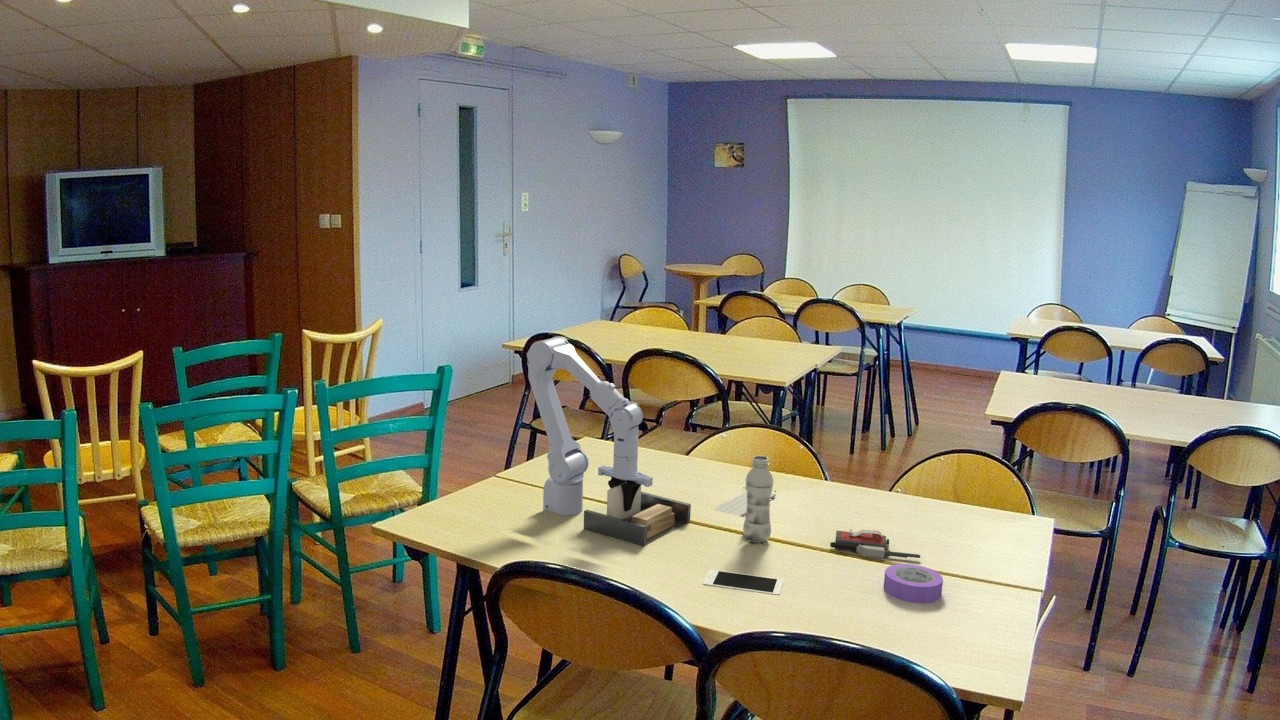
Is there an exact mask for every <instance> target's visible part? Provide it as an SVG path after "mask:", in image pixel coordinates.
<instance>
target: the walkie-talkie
mask: <svg viewBox="0 0 1280 720" xmlns="http://www.w3.org/2000/svg"><path fill="white" fill-rule="evenodd" d="M829 545H830V547H831V548H834V549H835V550H837V551H844V552H852V553H857V554H859V555H861V556H864V557H867V558H868V557H870V558H879V559H885V558H884V557H898V558H904V559H905V558H906V559H907V558H914V559H915V558H917V559H921V555H920V554H918V553H917V554H916V553H909V552H908V553H907V552H900V551H899V552H897V551H892V550H887V549H889V548H890V539H889V538H887V536H886V535H883V534H882V532H881V531H879V530H871V529H861V530H859V531H857V532H854V531H853V529H849V530H848V531H847V530H845V531H844V530H836V533H835V541H833V542H832V541H831V542H830V543H829Z"/></svg>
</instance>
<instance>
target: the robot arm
mask: <svg viewBox="0 0 1280 720" xmlns="http://www.w3.org/2000/svg"><path fill="white" fill-rule="evenodd" d="M526 357H527V360H528V373H527V374H528V376H527V377H528V381H529V384H530V387H531V389H532V393H533V396H534V399H535V402H536V405H537V408H538V411H539V414H540V418H541V422H542V424H543V426H544V429H545V434H546V435H547V436H546V437H547V439H548V442H549V444H550V445H549V446H550V447H549V450H548V453H547V455H546V458H547V461H548V467H547V470H548V474H549V477H548V478H547V479H546V481H545V482H544V485H543V490H542V491H543V492H542V493H543V494H542V495H543V496H542V497H543V498H542V503H543V504H542V505H543V506H542V511H550V512H552V513H555V514H556V515H561V516H577V515H580V514H581V513H583V507H584V506H583V502H584V501H583V500H584V499H583V498H584V497H583V496H584V477H585V474H584V473H585V472H586V471H587V470H588V469H589V458H588V456H587V455H586V454H585V452H584V451H583V449H582V448H581V445H580V443H579V442H578V441H576V440H575V439H573V437H572V434H571V431H570V429H569V426H568V422H567V419H566V416H565V413H564V410H563V407H562V405H561V404H562V403H561V400H560V398H559V395H558V392H557V388H556V385H555V382H554V380H553V377H554V375H555V374H556V371H557V370H566V371H568V372H569V374H571V375H572V376H573V377H574V378H575V379H577V380H578V381H579V382H580V383H581V384H582V385H583V386H585V388H587V389H588V390H589V391H590V399H591V400H592V401H593V402H594V403H595V404H596V405H597V406H598V407H599V408H600V409H601V410H602V411H603V412H604V413H605V414H606V415H607V416H608V417H609V424H610V425H611V427H612V429H613V461H612V462H613V464H612V465H613V466H607V465H602V466H599V467H597V469H598V470H597V471H598V472H597V475H598V476H602V477H603V476H606V477H609V478H610V480H608V481H607V485H608V486H609V488H610V489H611V488H614V487H616V486H618V485H621V487H622V491H623V497H624V511H629V510H631V507H632V504H633V500H634V497H635V495H636V493H637V491H638V489H639V487H640V486H641V487H642V486H644V487H646V488H650V487H651V486H653V481H654V478H653V477H654V476H653V477H652V476H649V475H647V474H645V473H642V472H640V471H638V461H639V460H638V459H639V458H638V456H639V455H638V454H639V453H638V452H639V429H640V427H639V425H640V424H642V422H643V419H644V412H643V410H642V408H641V407H640V405H639V404H638V403H636V402H633V401H630V400H629V399H628V398H625V396H623V394H622V393H620V392H619V391H618V390H617V389H616V385H615V384H614V383H613V382H611V383H610V382H609V381H608V380H607V381H605V380H603V381H602V380H601V379H600V378H599V377H598V376H597V375H596V373H594V371H593V370H592V369H591V368H590V367H589V366H588V365H587V363H586V362H585V361H584V359H582V358H581V357H580V355H579V354H578V353H577V352H576V349H575V346H574V345H573V344H571V343H570V342H569V341H568V340H567V339H566V338H565V337H563V336H560V335H556V336H553V337H552V338H548V339H544V340H538V341H537V340H536V341H535V342H533V343H532V344H531V346H530V348H529V350H528V351H527V352H526ZM625 482H627V483H625Z"/></svg>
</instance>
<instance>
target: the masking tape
mask: <svg viewBox="0 0 1280 720" xmlns="http://www.w3.org/2000/svg"><path fill="white" fill-rule="evenodd" d="M943 584H944V578H943V576H942V574H940V573H939V572H937V571H936V570H934V569H932V568H929V567H927V566H922V565H919V564H913V563H898V564H897V563H896V564H893V565H892V564H891V565H890V566H887V567H886V568H885V570H884V579H883V591H884V592H885V593H886V594H887V595H889V596H890V597H892V598H894V599H896V600H900V601H904V602H906V603H907V602H908V603H913V604H914V603H916V604H928V603H935V602H937V601H938V600H940V599H941V597H942V593H943Z"/></svg>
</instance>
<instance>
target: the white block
mask: <svg viewBox="0 0 1280 720" xmlns="http://www.w3.org/2000/svg"><path fill="white" fill-rule="evenodd" d="M625 483H627V482H625ZM606 491H607V493H606V497H607V498H606V515H609V516H613V517H616V518H620V519H624V518H627V517H629V516H631V515H633V514H635V513H637V512H639V511H640V509H641V492H642V485H641V486H640V487H639V489H638V491H637V493H636V495H635V497H634V500H633V504H632V507H631V510H629V511H624V497H623V491H622V487H621V485H618V486H616V487H614V488H610V489H609V488H608V489H607V490H606Z"/></svg>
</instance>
